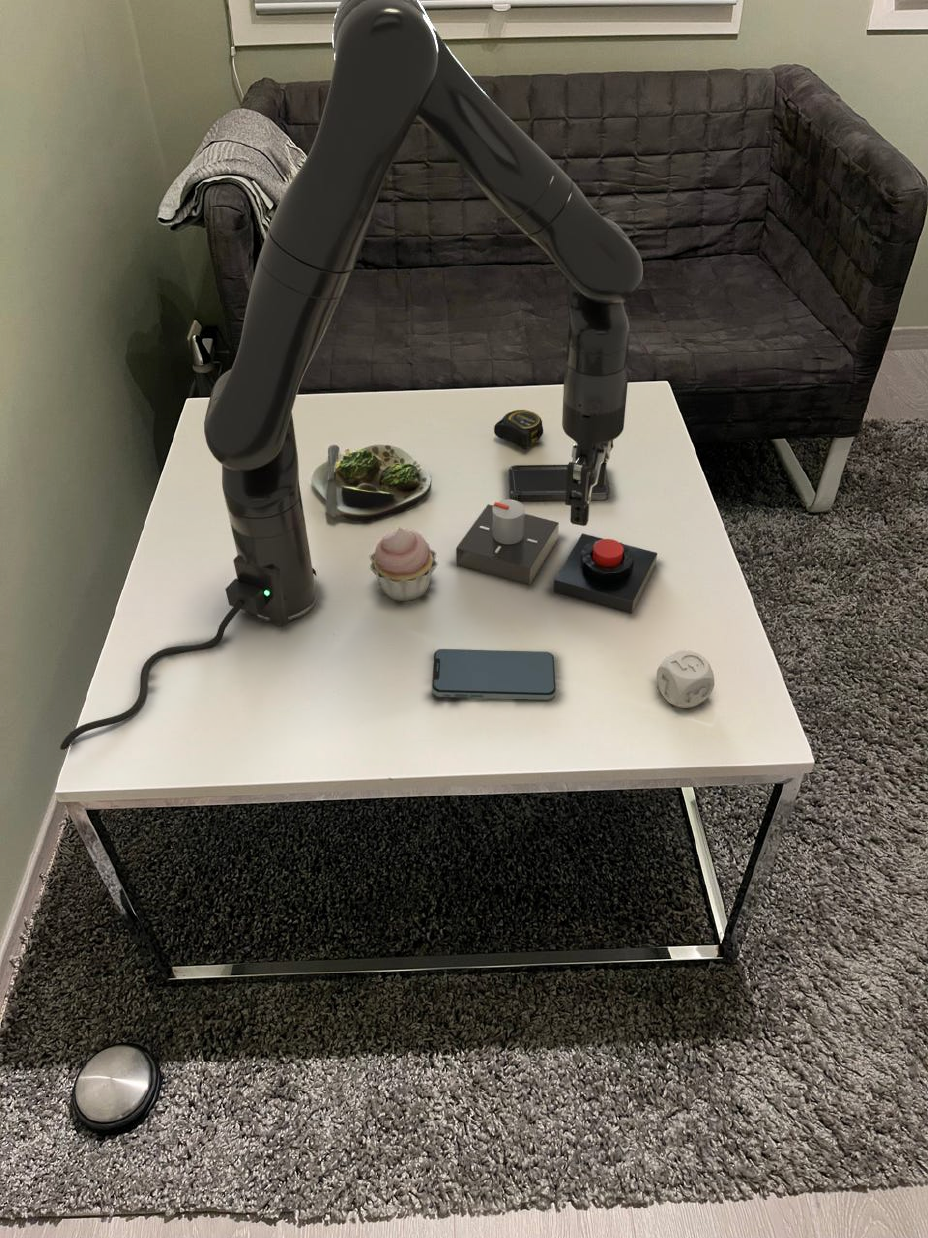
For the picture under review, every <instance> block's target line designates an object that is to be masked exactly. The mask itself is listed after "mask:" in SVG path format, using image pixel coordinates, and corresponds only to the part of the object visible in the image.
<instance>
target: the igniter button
mask: <svg viewBox="0 0 928 1238" xmlns="http://www.w3.org/2000/svg"><path fill="white" fill-rule="evenodd" d="M602 539H603V540H599V541H597V542H596V543H595V544H594V547H593V560H594V562H595V563H596V564H598V565H600V566H604V567H615V566H617V565H619V564H620V563H621V562H622V558H623V546H622V545H621V544H620V543H621V542H620V541H617V540H615V539H612V538H602ZM619 542H620V543H619Z"/></svg>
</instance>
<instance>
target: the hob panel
mask: <svg viewBox="0 0 928 1238" xmlns="http://www.w3.org/2000/svg"><path fill="white" fill-rule="evenodd" d="M493 506H494V504H489V503H487V505H486V506H485V507H484V509H483V510H482V512H481V513H480V514H479V516H478V517H477V518H476V520H475V521H474V523H473V524H472V525H471V527H469V530H468V531H467V533H465V535H464V537H462V539H461V541H460V542H459V543H458V544H457V547H455V555H456V556H455V558H456V565H457V566H461V567H465V568H468V569H471V570H475V571H479V572H482V573H485V574H488V575H493V576H497V577H500V578H503V579H507V580H510V581H513V582H517V583H520V584H525V585H527V586H530V585H531V584H532V582H533V580H534V578H535V577H536V575H537V573H538V572H539V570H540V569H541V568H542V565H543V564H544V562H545V561H546V559H547V557H548V556H549V554H550V553H551V551H552V550H553V548H554V546H555V544H556V543H557V541H558V539H559V527H560V523H559V522H558V521H555V520H550V519H547V518H543V517H539V516H535V515H531V514H528V513H525V515H524V537H523V539H522V540H521V541H520V542H518V543H515V544H509V545H508V544H501V543H499V542H497V541H496V540H495V539H494V538H493V535H492V513H493Z"/></svg>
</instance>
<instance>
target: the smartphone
mask: <svg viewBox="0 0 928 1238" xmlns="http://www.w3.org/2000/svg"><path fill="white" fill-rule="evenodd" d="M554 658H555V657H554V655H553V654H552V653H551V652H549V651H536V650H535V651H531V650H501V649H499V650H498V649H496V650H495V649H494V650H493V649H464V648H463V649H460V648H459V649H458V648H457V649H456V648H438V649H437V650H436V651H435V652H434V653H433V668H432V669H433V672H432V685H431V686H432V687H431V689H432V694H433V695H434V696H436V697H440V698H471V699H504V700H505V699H507V700H508V699H510V700H511V699H512V700H543V701H545V700H547V701H548V700H552V699H554V698H555V696H556V691H557V687H556V674H555V672H556V671H555V659H554Z"/></svg>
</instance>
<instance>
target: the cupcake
mask: <svg viewBox="0 0 928 1238" xmlns="http://www.w3.org/2000/svg"><path fill="white" fill-rule="evenodd" d="M437 555H438V554H437V552H436V551H435V550H433V549H431V548H430V544H429V542H427V541H426V538H425V537H424V536H423V534H421V533H420V532H419V531H416V530H415V529H410V528H403V527H398V528H397V529H394V530H391V531H388V532H386V533H385V534H383V537H382V539H380V540H379V542H378V543H377V544H376V547H375V552H373V553H371V554H369V555H368V557H369V559H370V561H371V563H370V564H369V566H368V568H369V570H371V572H372V573H373V574H374V575H375V577H376V578H377V581H378V582H379V585H380V587H381V590H382V592H383V593H384V594H385V595H386V596H387V597H388V598H390V599H392V600H394V601H399V602H410V601H414V600H417V599H419V598H421V597H422V596H423V595H424V594H425V593H426V592H427V590H428V588H429V585H430V582H431V578H432V575H433V573H434V571H435V570H436V568H437V567H438V565H439V563H438V561H437V560H436V557H437Z"/></svg>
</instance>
